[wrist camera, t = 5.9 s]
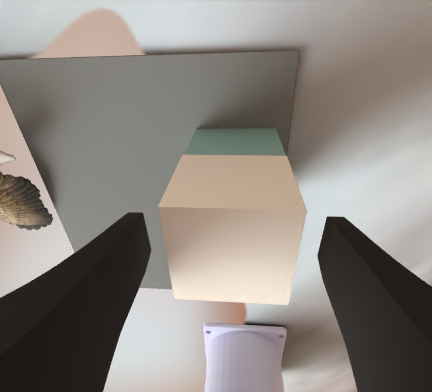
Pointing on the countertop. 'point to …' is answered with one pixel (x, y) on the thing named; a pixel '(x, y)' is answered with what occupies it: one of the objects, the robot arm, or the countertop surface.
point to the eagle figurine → (21, 201)
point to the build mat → (136, 127)
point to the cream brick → (232, 228)
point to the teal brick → (236, 142)
